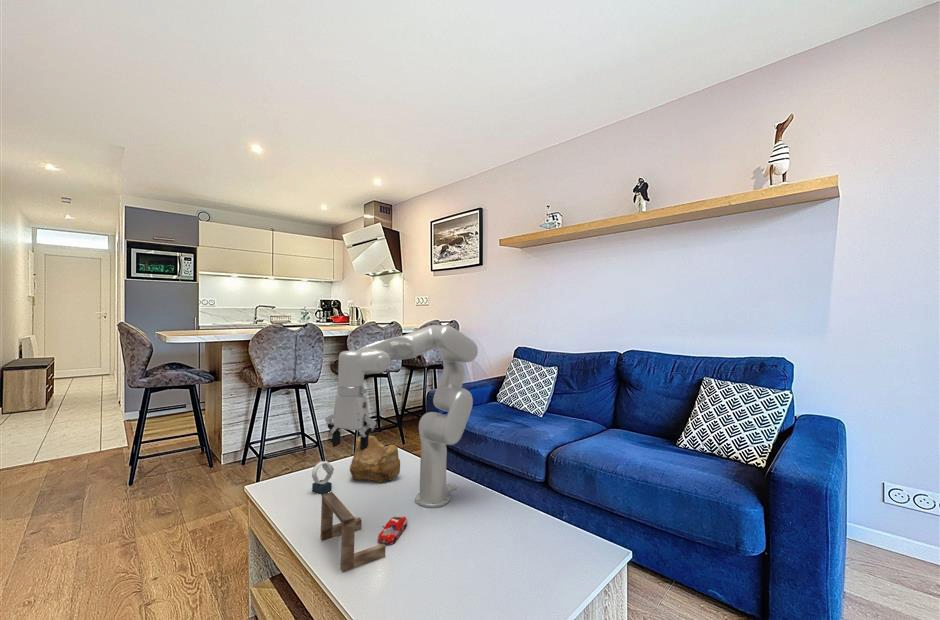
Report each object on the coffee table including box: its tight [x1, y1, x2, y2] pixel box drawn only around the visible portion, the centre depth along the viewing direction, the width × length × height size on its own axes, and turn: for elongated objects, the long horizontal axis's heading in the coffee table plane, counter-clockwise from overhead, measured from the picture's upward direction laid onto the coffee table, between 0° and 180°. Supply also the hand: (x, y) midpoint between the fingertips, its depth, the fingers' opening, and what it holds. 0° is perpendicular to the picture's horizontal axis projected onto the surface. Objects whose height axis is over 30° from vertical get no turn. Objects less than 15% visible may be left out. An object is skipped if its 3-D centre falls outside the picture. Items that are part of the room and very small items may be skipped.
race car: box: [377, 515, 408, 546], centre depth 122 cm, size 13×5×4 cm, turn 165°
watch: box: [311, 460, 335, 496], centre depth 151 cm, size 6×8×11 cm
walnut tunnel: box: [319, 491, 387, 573], centre depth 115 cm, size 12×19×13 cm, turn 37°
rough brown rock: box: [349, 435, 401, 483], centre depth 165 cm, size 23×17×15 cm
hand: (350, 447), depth 122 cm, fingers open, 9 cm apart
